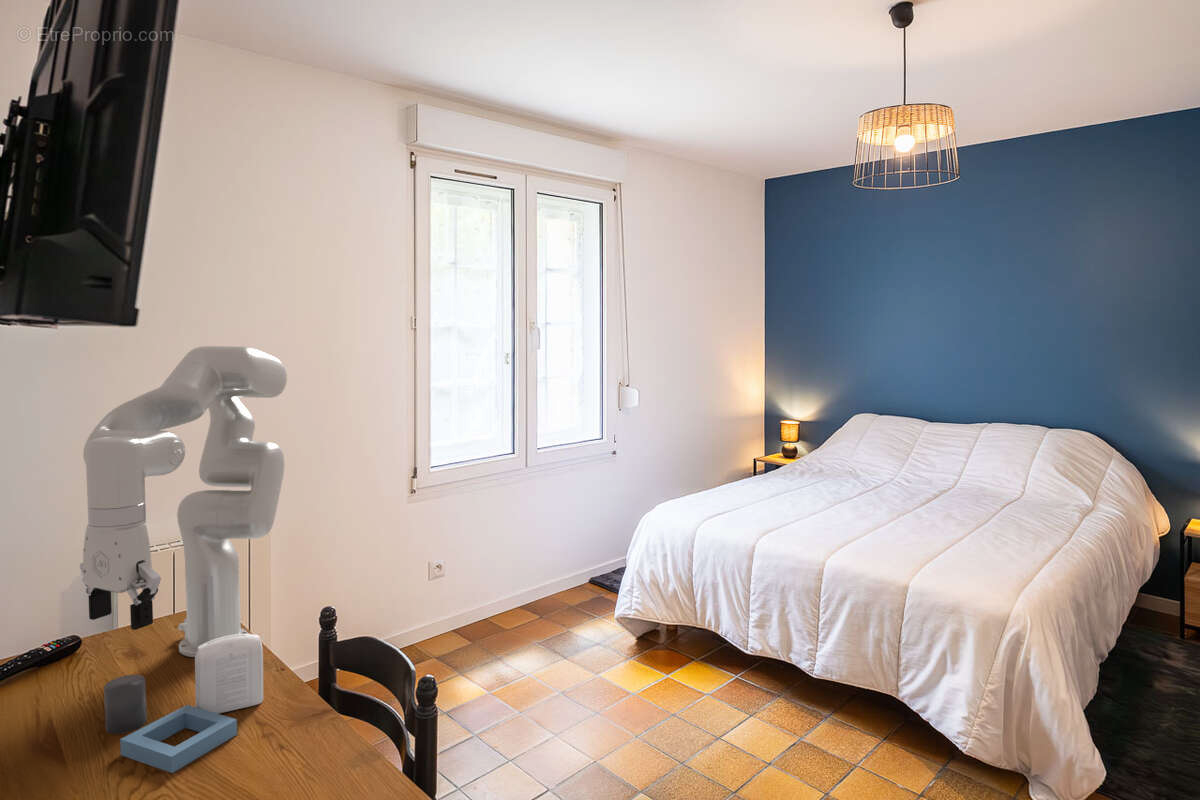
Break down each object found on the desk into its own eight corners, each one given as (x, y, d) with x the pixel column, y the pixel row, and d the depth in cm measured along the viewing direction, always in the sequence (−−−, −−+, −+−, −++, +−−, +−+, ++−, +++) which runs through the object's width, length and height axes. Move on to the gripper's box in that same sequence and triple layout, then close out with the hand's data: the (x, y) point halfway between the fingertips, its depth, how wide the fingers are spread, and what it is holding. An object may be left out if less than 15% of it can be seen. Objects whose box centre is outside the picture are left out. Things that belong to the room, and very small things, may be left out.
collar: (120, 755, 108) (120, 739, 107) (187, 719, 118) (187, 704, 117) (172, 773, 103) (171, 756, 103) (237, 734, 114) (236, 719, 113)
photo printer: (261, 693, 126) (260, 625, 125) (265, 704, 123) (264, 634, 122) (194, 709, 121) (192, 638, 120) (197, 721, 117) (194, 648, 116)
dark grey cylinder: (97, 729, 114) (95, 687, 114) (131, 712, 119) (130, 672, 119) (121, 737, 112) (119, 694, 112) (154, 720, 117) (152, 678, 117)
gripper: (56, 514, 113) (60, 621, 114) (131, 527, 106) (135, 639, 107) (105, 505, 120) (108, 605, 121) (178, 516, 113) (181, 622, 114)
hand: (121, 621), depth 114 cm, fingers open, 9 cm apart
